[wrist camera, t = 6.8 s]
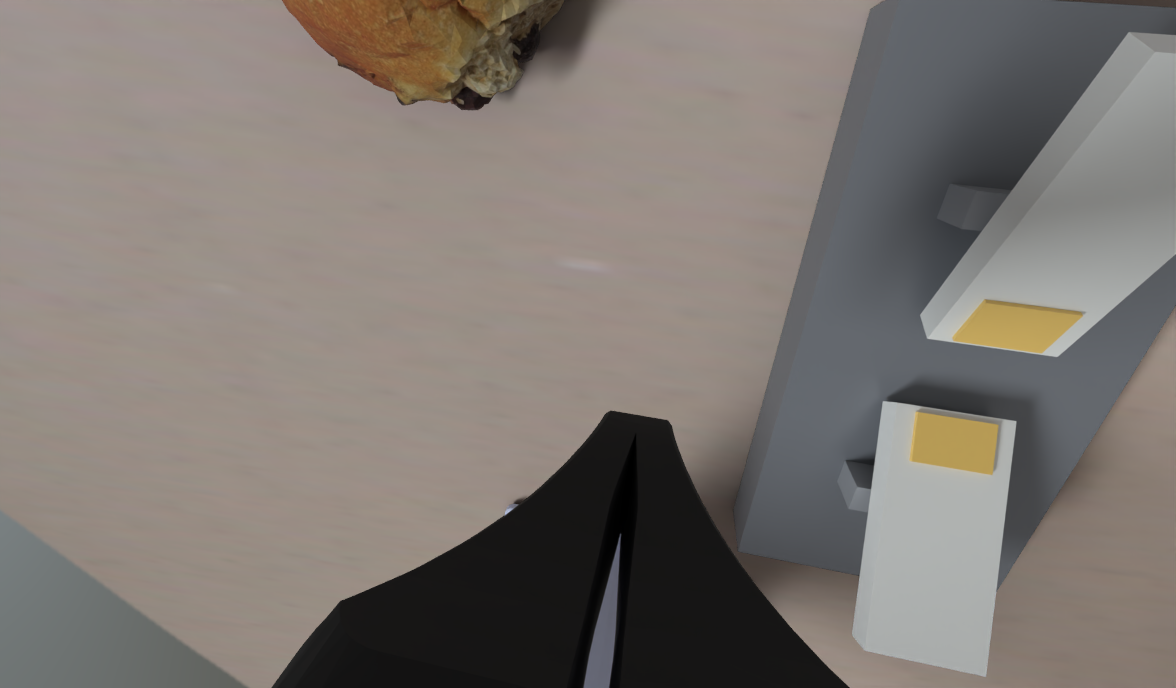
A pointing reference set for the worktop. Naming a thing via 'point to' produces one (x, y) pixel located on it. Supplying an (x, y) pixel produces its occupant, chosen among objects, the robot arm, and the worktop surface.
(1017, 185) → the rocker
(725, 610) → the robot arm
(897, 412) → the rocker
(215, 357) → the worktop surface
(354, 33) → the bread roll
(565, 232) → the worktop surface
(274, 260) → the worktop surface
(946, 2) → the switch unit
